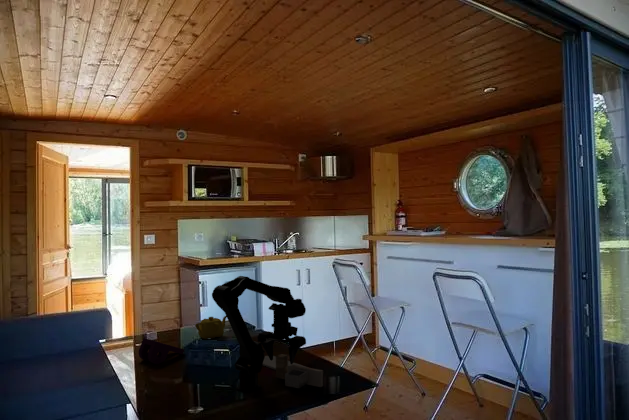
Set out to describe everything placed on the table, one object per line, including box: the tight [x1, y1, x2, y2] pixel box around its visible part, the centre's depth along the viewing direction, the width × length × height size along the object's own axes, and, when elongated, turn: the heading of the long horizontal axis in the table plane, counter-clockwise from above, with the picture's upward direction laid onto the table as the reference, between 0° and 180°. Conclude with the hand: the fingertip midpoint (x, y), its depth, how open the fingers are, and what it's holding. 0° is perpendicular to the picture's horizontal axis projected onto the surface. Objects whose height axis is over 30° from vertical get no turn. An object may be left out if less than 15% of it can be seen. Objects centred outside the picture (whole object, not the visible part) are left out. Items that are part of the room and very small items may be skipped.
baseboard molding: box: [262, 355, 326, 374], centre depth 181 cm, size 31×3×12 cm
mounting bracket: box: [138, 337, 185, 365], centre depth 194 cm, size 10×8×18 cm
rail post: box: [275, 353, 289, 380], centre depth 170 cm, size 3×3×8 cm
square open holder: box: [284, 369, 308, 389], centre depth 159 cm, size 8×6×4 cm
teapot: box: [194, 315, 227, 340], centre depth 228 cm, size 14×13×10 cm
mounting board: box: [288, 364, 324, 388], centre depth 163 cm, size 2×14×6 cm, turn 60°
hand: (281, 362), depth 170 cm, fingers open, 9 cm apart
